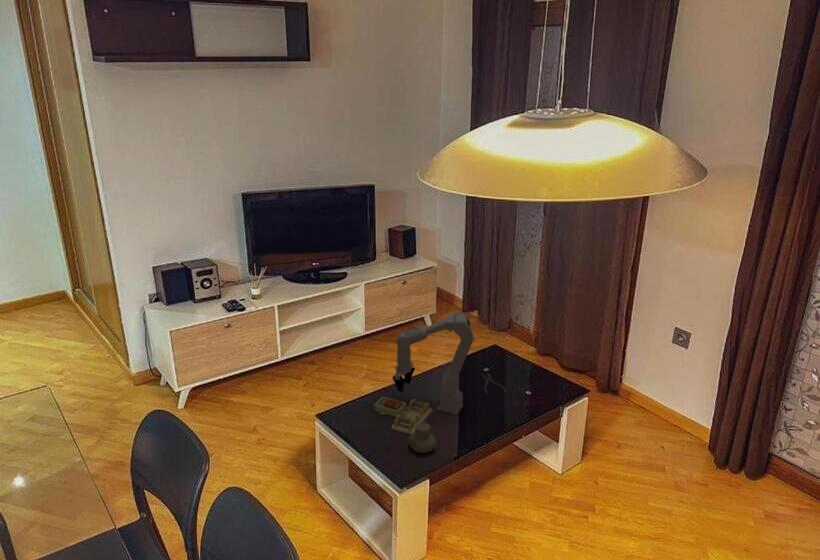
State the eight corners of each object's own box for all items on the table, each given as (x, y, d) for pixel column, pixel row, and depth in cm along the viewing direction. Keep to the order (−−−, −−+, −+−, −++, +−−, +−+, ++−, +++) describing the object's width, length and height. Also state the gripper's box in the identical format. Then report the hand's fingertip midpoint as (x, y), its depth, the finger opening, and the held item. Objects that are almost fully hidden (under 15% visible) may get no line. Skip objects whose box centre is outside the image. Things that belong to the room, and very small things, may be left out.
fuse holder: (432, 411, 269) (432, 402, 267) (412, 435, 252) (412, 426, 250) (412, 406, 273) (412, 397, 271) (391, 429, 256) (391, 420, 254)
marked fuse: (399, 410, 269) (400, 403, 270) (396, 410, 267) (398, 403, 267) (383, 406, 272) (385, 399, 273) (381, 406, 270) (382, 399, 270)
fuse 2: (428, 407, 267) (428, 401, 265) (425, 411, 265) (425, 406, 263) (412, 402, 270) (412, 397, 268) (409, 407, 268) (409, 402, 266)
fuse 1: (414, 424, 255) (415, 417, 255) (411, 426, 253) (412, 420, 252) (398, 420, 258) (399, 413, 258) (395, 422, 256) (396, 415, 255)
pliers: (489, 395, 281) (469, 375, 299) (489, 396, 282) (469, 376, 299) (508, 391, 285) (486, 371, 302) (508, 392, 285) (486, 373, 303)
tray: (406, 408, 271) (406, 402, 270) (398, 417, 264) (398, 411, 263) (382, 402, 275) (382, 396, 274) (373, 411, 269) (373, 405, 268)
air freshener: (438, 451, 242) (439, 430, 238) (421, 458, 238) (421, 436, 234) (423, 438, 250) (423, 416, 247) (406, 444, 246) (406, 422, 243)
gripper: (402, 350, 273) (402, 377, 278) (388, 364, 261) (388, 392, 265) (417, 353, 270) (417, 381, 275) (403, 368, 258) (403, 396, 263)
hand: (404, 387), depth 270 cm, fingers open, 7 cm apart
